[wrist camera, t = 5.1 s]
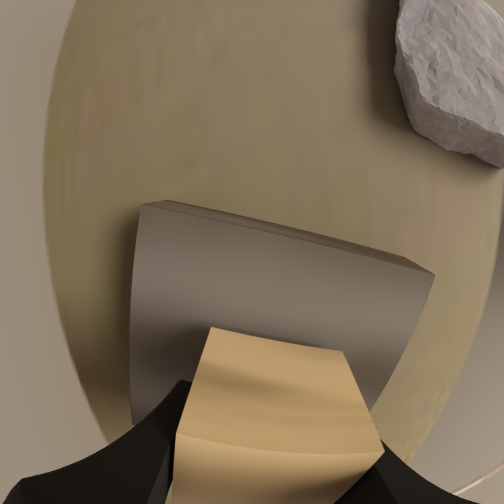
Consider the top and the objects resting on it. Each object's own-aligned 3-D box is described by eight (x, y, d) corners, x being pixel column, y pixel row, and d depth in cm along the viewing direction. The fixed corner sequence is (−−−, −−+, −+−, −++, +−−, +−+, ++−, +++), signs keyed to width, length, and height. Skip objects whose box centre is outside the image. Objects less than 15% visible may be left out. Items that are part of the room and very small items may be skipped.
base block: (328, 425, 16) (335, 458, 13) (148, 392, 15) (132, 424, 12) (404, 257, 13) (435, 274, 10) (167, 199, 12) (141, 204, 10)
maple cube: (301, 433, 11) (312, 520, 6) (195, 416, 11) (171, 506, 6) (342, 351, 10) (384, 451, 5) (211, 326, 10) (176, 432, 5)
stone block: (382, 141, 13) (512, 180, 11) (407, 117, 9) (557, 177, 7) (373, -6, 11) (491, 35, 9) (381, -49, 6) (518, 9, 4)
